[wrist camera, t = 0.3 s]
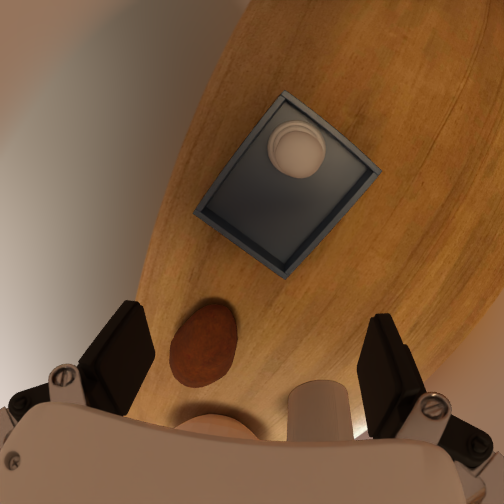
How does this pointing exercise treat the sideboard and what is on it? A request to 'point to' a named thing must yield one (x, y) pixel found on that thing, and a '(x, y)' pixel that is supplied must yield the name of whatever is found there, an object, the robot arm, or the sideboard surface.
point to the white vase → (217, 426)
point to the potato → (204, 347)
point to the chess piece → (296, 148)
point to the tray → (285, 192)
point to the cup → (319, 413)
